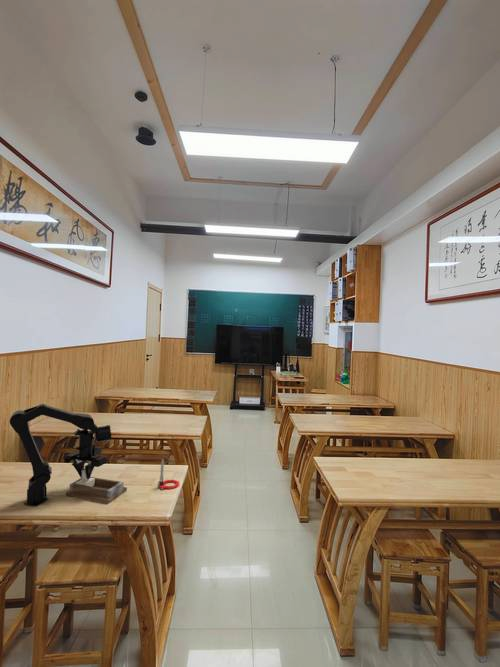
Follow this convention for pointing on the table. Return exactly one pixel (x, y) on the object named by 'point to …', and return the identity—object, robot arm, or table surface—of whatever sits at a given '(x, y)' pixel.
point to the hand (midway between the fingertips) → (85, 478)
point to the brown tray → (97, 490)
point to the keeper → (86, 480)
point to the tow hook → (166, 480)
